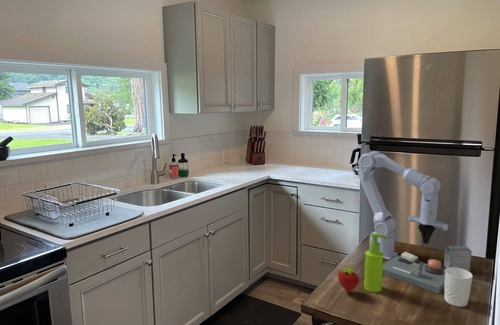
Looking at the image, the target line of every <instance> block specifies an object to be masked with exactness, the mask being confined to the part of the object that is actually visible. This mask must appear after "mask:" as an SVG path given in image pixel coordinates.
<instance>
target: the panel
mask: <svg viewBox="0 0 500 325" xmlns="http://www.w3.org/2000/svg"><path fill="white" fill-rule="evenodd" d="M412 263H413V262H411V261H409V260H406V259H404V258H402V257H401V255H399V254H397V255H396V256H394V257H392V258H391V259H389V260H387V261H385V262H383V271H382V275H384V276H388V277H390V278H393V279H395V278H396V280H398V279H399V281H402V282H404V283H407V284H409V285H414V286H415V287H419V288H421V289H423V290H428V291H429V292H433V293H436V294H439V293H440V292H442V291H443V290H444V287H445V286H444V282H445V269H446V268H445V269H444V268H443V267H441V270H431V269H429V268H428V263H425V262H421V261H420V260H419V259H418V260H417V261H415V262H414V263H417V264H420V265H422V274H421V275H420V276H419V277H418V276H415V275H412V274H410V269H411V264H412Z"/></svg>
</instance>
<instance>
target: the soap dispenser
mask: <svg viewBox="0 0 500 325" xmlns="http://www.w3.org/2000/svg"><path fill="white" fill-rule="evenodd" d="M370 236H371V237H373V239H372V242H370V241H369V245H370V248H369V249H368V250H365V255H364V257H365V258H364V259H365V260H364V276H363V278H364V279H363V280H364V282H363V288H364V290H366V291H367V292H370V293H380V292H381V291H382V288H383V287H382V286H383V274H382V271H383V264H384V258H383V253H382V252H381V251H380V243H378V237H384V238H387V237H388V236H387V235H385V234H381V233H373V232H371V233H370Z"/></svg>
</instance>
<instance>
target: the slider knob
mask: <svg viewBox="0 0 500 325" xmlns="http://www.w3.org/2000/svg"><path fill="white" fill-rule="evenodd" d="M410 274H412V275H415V276H418V277H419V276H420V275H421V274H422V265H420V264H417V263H412V264H411V269H410Z"/></svg>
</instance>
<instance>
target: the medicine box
mask: <svg viewBox="0 0 500 325" xmlns="http://www.w3.org/2000/svg"><path fill="white" fill-rule="evenodd" d="M471 261H472V250H471V249H470V248H469V246H467V245H446V246H445V250H444V263H443V265H444V268H445V269H447V268H460V269H464V270H467V271H469V272H470V270H471Z"/></svg>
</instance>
